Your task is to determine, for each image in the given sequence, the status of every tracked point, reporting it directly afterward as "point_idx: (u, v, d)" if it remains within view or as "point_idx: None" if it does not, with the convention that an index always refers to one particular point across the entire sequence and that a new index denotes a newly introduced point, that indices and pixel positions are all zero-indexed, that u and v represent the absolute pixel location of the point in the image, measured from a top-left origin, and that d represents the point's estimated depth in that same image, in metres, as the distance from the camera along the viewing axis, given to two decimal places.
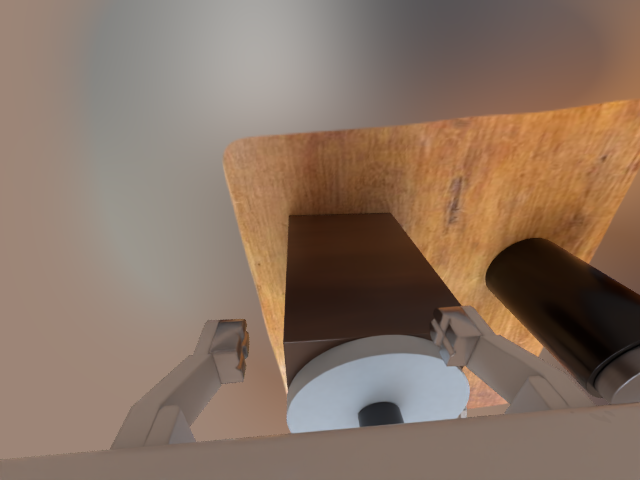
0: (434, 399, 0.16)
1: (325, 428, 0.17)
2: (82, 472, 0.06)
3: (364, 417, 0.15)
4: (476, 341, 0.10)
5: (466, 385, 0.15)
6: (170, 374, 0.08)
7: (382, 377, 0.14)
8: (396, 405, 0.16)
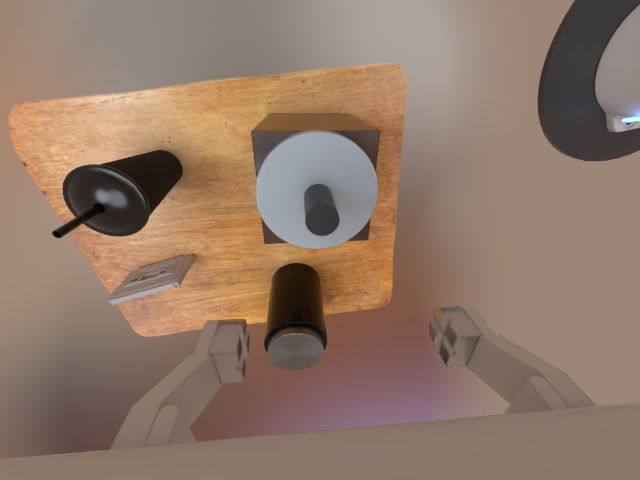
0: None
1: (303, 161, 0.22)
2: (82, 472, 0.06)
3: (326, 187, 0.23)
4: (476, 341, 0.10)
5: (339, 242, 0.27)
6: (170, 374, 0.08)
7: (357, 193, 0.24)
8: None
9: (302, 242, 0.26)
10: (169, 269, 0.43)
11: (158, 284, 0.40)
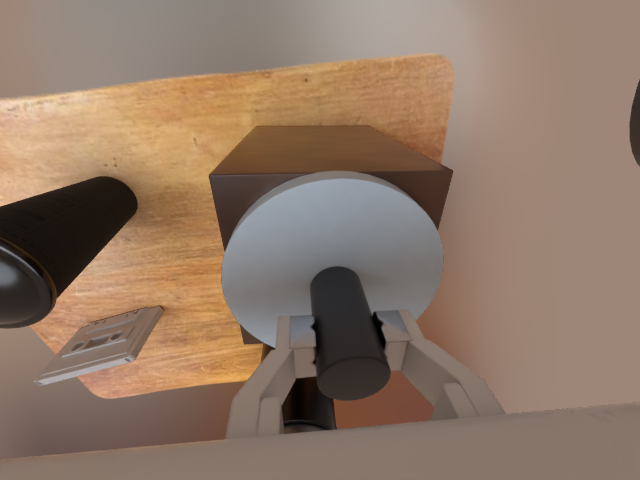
0: None
1: (309, 230, 0.12)
2: (82, 472, 0.06)
3: (352, 275, 0.13)
4: (405, 346, 0.10)
5: None
6: (259, 368, 0.08)
7: (405, 279, 0.14)
8: None
9: None
10: (124, 331, 0.32)
11: (106, 358, 0.29)
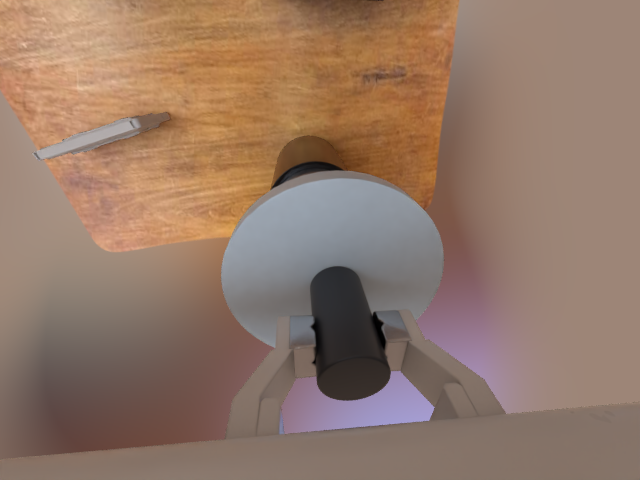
0: None
1: (309, 230, 0.12)
2: (82, 472, 0.06)
3: (352, 274, 0.13)
4: (405, 346, 0.10)
5: None
6: (259, 368, 0.08)
7: (405, 279, 0.14)
8: None
9: None
10: None
11: (110, 126, 0.27)
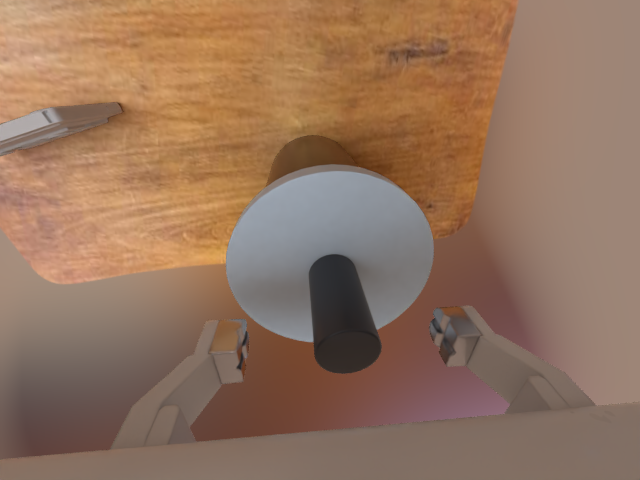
0: None
1: (308, 220, 0.13)
2: (81, 472, 0.06)
3: (348, 262, 0.13)
4: (476, 341, 0.10)
5: None
6: (170, 374, 0.08)
7: (398, 266, 0.14)
8: None
9: (305, 335, 0.17)
10: None
11: (14, 120, 0.18)
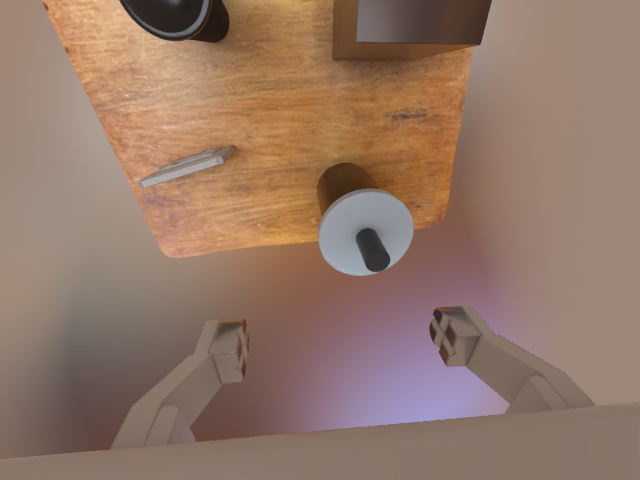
0: None
1: (358, 212, 0.29)
2: (82, 472, 0.06)
3: (374, 231, 0.30)
4: (476, 341, 0.10)
5: (380, 270, 0.34)
6: (170, 374, 0.08)
7: (397, 234, 0.31)
8: None
9: (350, 270, 0.33)
10: (208, 152, 0.37)
11: (199, 161, 0.34)
